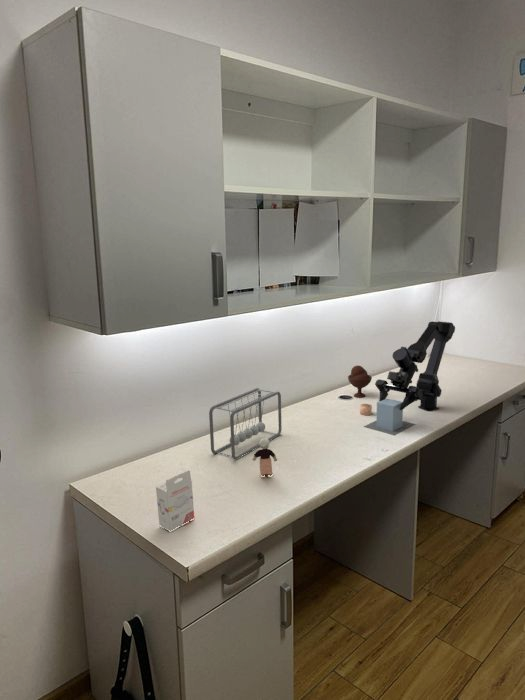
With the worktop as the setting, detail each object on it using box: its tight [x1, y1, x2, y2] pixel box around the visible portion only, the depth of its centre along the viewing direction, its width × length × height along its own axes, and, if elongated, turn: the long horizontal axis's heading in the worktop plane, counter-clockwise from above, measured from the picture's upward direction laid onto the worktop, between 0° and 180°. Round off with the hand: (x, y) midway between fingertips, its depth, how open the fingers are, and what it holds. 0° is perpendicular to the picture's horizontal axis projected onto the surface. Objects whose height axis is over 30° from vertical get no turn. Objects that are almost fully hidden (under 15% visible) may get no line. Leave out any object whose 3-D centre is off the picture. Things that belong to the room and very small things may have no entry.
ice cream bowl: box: [347, 365, 373, 399], centre depth 245 cm, size 11×11×15 cm
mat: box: [363, 419, 416, 436], centre depth 207 cm, size 16×14×1 cm
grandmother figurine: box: [252, 437, 278, 476], centre depth 166 cm, size 8×4×13 cm, turn 99°
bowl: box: [359, 403, 373, 417], centre depth 221 cm, size 5×5×4 cm
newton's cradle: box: [208, 387, 282, 460], centre depth 191 cm, size 30×10×18 cm, turn 144°
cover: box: [376, 398, 404, 431], centre depth 205 cm, size 7×7×10 cm
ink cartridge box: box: [155, 469, 195, 531], centre depth 139 cm, size 9×5×15 cm, turn 138°
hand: (389, 407), depth 204 cm, fingers open, 9 cm apart
